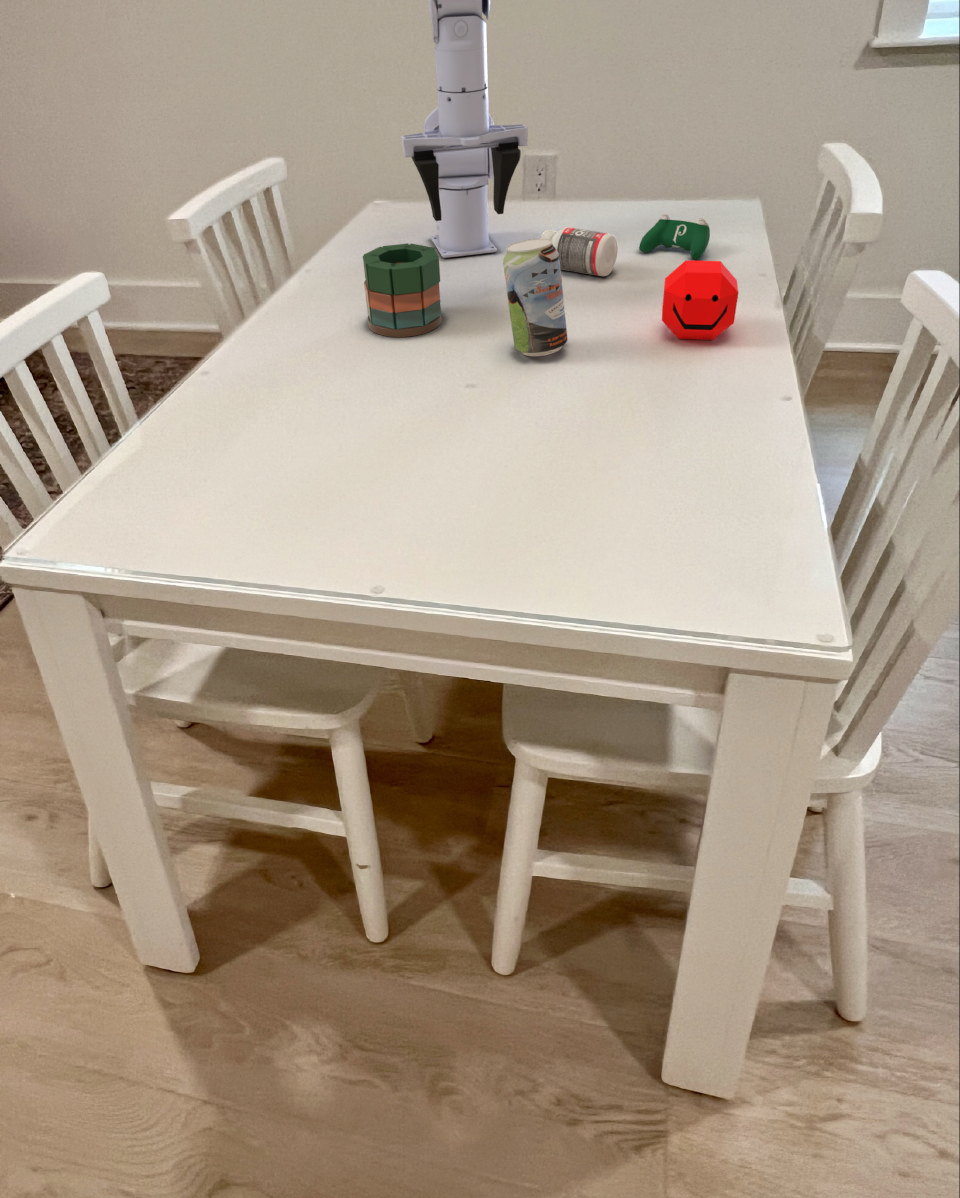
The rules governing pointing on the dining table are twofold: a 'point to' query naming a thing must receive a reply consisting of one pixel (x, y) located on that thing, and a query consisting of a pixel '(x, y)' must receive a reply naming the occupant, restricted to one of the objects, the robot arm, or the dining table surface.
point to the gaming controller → (677, 236)
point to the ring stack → (403, 312)
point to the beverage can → (535, 297)
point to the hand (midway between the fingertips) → (468, 215)
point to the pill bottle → (584, 250)
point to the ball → (699, 300)
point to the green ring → (401, 269)
